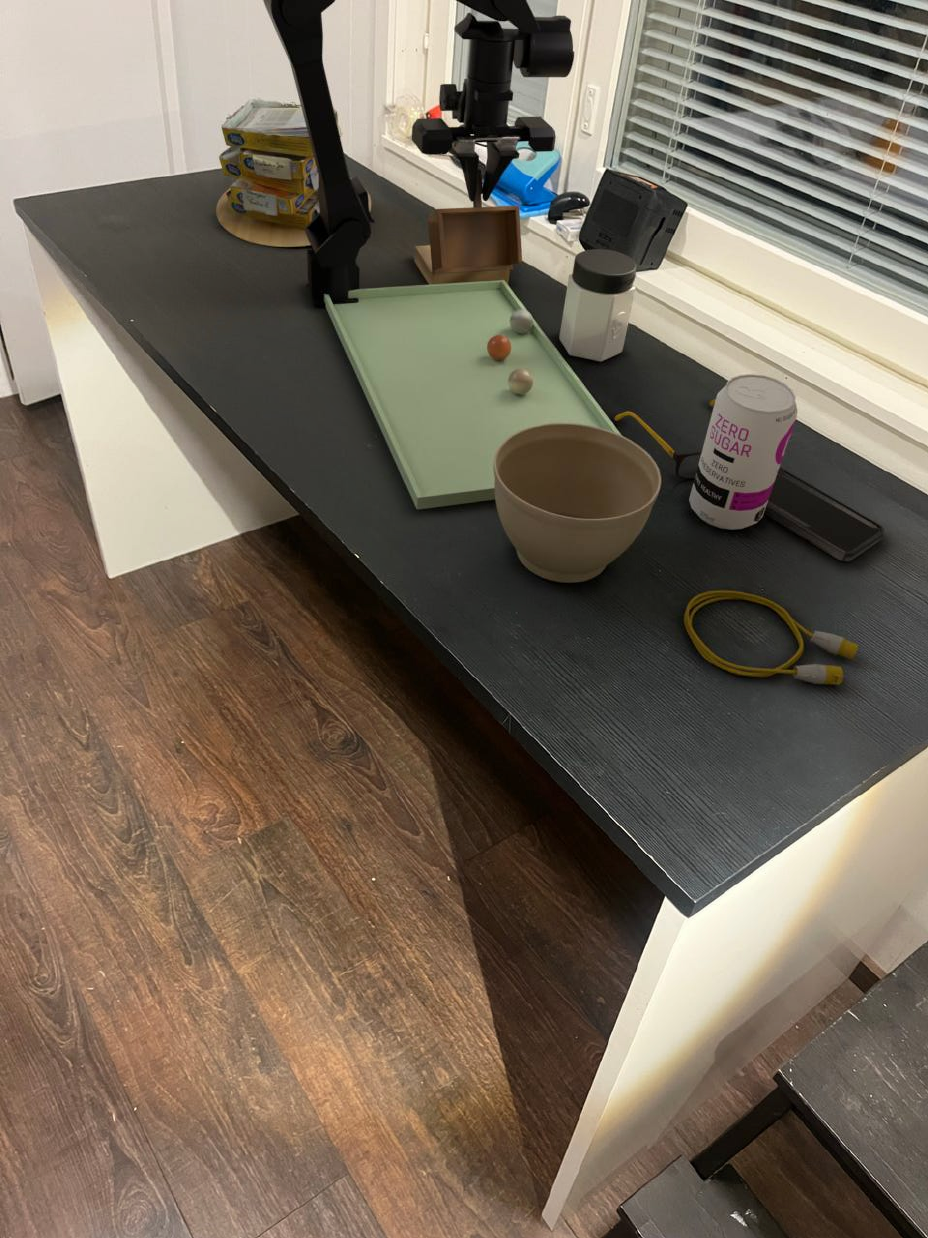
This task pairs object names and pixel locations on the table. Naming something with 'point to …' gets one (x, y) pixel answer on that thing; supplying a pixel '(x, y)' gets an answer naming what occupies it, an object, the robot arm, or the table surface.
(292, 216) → the stacked yellow boxes
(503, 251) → the wooden ball box
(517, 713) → the table surface
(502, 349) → the ball
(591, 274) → the jar
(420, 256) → the stand
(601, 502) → the planter bowl
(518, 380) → the ball
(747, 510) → the supplement can
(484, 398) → the tray
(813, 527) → the phone
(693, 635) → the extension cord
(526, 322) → the ball
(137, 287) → the table surface
